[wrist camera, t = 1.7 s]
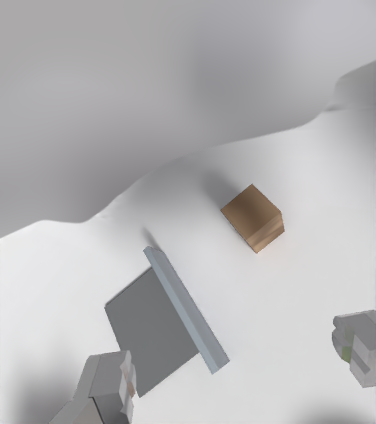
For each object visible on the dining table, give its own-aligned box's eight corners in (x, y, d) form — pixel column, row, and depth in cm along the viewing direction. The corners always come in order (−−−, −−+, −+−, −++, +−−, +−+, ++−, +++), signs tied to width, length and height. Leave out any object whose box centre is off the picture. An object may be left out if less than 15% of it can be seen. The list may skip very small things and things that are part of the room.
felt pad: (155, 267, 40) (153, 266, 40) (202, 349, 33) (200, 350, 32) (106, 307, 41) (104, 307, 41) (141, 396, 34) (139, 397, 33)
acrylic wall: (164, 252, 40) (148, 246, 36) (230, 361, 31) (219, 369, 27) (159, 256, 40) (143, 250, 36) (223, 365, 31) (212, 374, 27)
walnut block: (260, 207, 37) (251, 183, 30) (284, 231, 34) (281, 211, 27) (234, 228, 37) (220, 210, 30) (256, 253, 35) (246, 240, 28)
